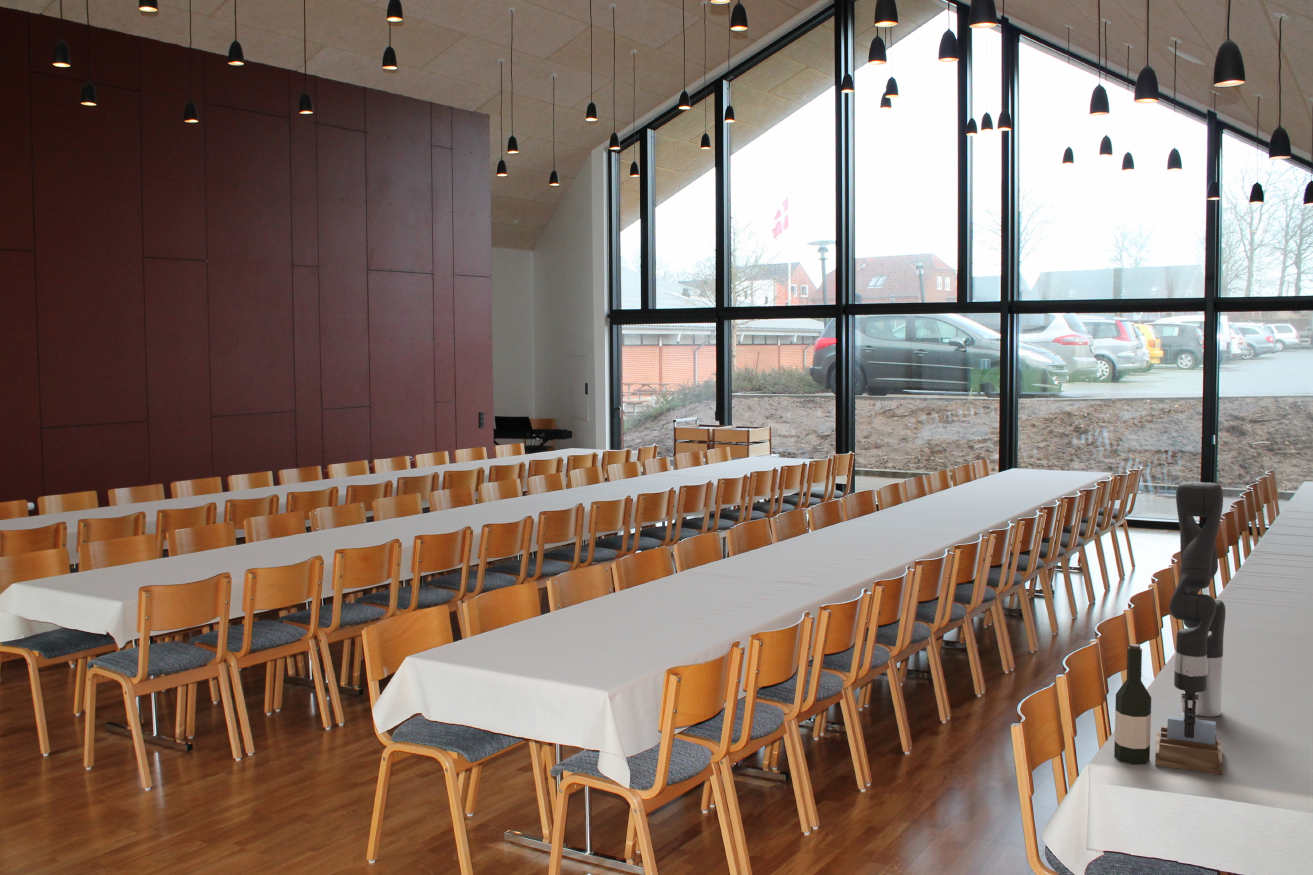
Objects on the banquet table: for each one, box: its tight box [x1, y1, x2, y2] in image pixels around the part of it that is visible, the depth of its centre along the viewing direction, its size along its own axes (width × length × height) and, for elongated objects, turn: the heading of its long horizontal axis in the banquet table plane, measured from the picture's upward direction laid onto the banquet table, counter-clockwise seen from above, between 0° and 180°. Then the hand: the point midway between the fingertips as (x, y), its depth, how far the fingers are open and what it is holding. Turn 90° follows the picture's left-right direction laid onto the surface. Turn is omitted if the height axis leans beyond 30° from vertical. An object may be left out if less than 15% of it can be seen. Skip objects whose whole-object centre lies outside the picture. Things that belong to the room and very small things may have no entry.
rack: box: [1154, 726, 1223, 776], centre depth 270 cm, size 16×15×5 cm
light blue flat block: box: [1166, 715, 1217, 745], centre depth 270 cm, size 2×11×9 cm, turn 63°
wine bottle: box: [1113, 643, 1152, 766], centre depth 270 cm, size 8×8×30 cm
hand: (1188, 731), depth 270 cm, fingers open, 8 cm apart
